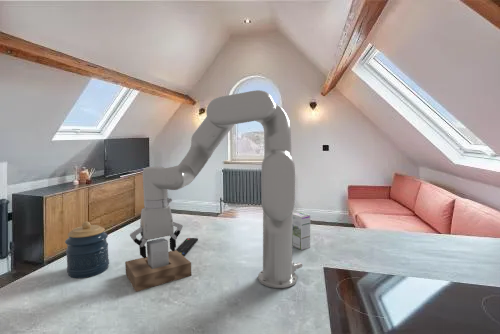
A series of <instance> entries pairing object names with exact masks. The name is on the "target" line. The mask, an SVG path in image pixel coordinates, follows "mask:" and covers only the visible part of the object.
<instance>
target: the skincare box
mask: <svg viewBox="0 0 500 334" xmlns="http://www.w3.org/2000/svg"><path fill="white" fill-rule="evenodd" d="M169 252H170V251H169V240H167V239H166V238H164V237H160V238H156V239H150V240H147V242H146V257H147V258H148V265H149V266H150V267H151V269H155V268H158V267H162V266H166V265H169Z"/></svg>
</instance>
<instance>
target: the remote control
mask: <svg viewBox="0 0 500 334" xmlns="http://www.w3.org/2000/svg"><path fill="white" fill-rule="evenodd" d="M198 240H199V238H197V237H187V238H185V239H184V240H183V241H182V243H181V244H180V245H178V247H176V248H175V250H177V251H178V252H179V253H180V254H182V255H183V256H184V257H185V256H186V255H187V254H188V253H189V252H190V251H191V249H192V248H193V247H194V245H196V243H197V242H198Z"/></svg>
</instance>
